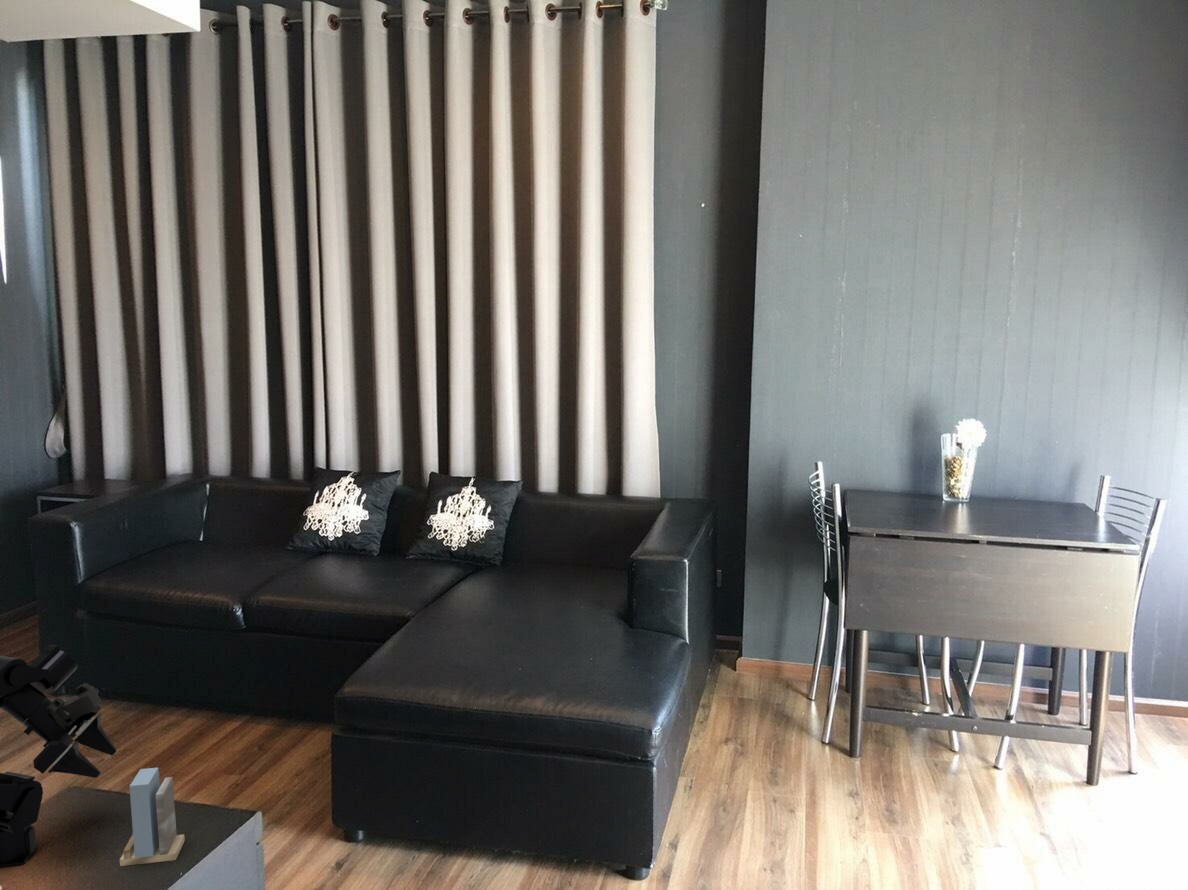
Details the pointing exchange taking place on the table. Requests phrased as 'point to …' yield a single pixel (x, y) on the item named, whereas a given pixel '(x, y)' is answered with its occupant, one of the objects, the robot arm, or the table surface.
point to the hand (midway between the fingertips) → (106, 764)
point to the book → (145, 812)
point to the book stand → (160, 830)
